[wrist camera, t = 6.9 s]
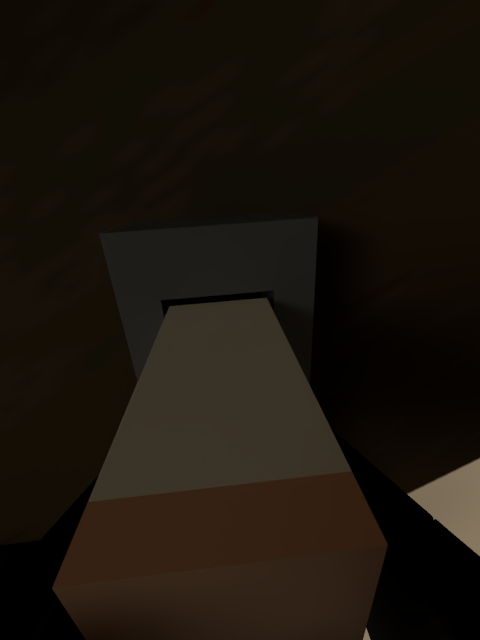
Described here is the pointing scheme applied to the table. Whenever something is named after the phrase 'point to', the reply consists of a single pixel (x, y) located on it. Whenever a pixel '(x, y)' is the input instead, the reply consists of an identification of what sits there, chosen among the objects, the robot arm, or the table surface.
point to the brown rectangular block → (223, 498)
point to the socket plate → (214, 271)
